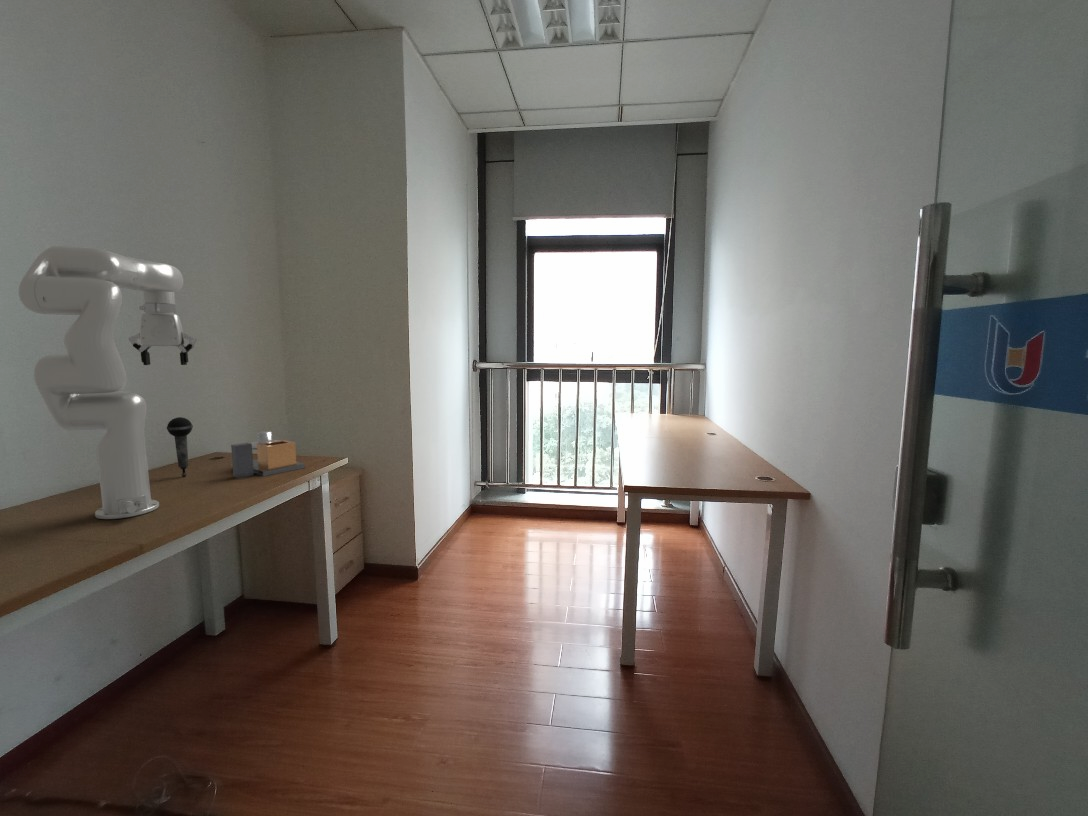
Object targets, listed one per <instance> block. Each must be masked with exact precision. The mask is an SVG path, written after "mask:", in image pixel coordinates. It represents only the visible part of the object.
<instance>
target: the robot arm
mask: <svg viewBox="0 0 1088 816" xmlns="http://www.w3.org/2000/svg"><path fill="white" fill-rule="evenodd" d="M183 286H184V276H183V274H182V273H181V271H180V269H178V268H177V267H175V266H174V265H171V264H168V263H163V262H158V261H151V260H146V259H143V258H142V259H141V258H137V257H133V256H126V255H122V254H120V253H116V252H112V251H109V250H106V249H103V248H97V247H96V248H95V247H80V246H79V247H77V246H63V245H57V246H56V245H54V246H50V247H48V248H46V249H44V250H43V251H42V252H41V253H40V254H39V255H38V256H37V257H36V259H34V261H33V262H32V264H31V265H30V266H29V268H28V270H27V271H26V272H25V274H24V275H23V277H22V278H21V280H20V283H19V286H18V297H19V301H20V302H21V304H22V305H23V306H24V307H25V308H26V309H27V310H29V311H31V312H33V313H36V314H39V315H40V314H41V315H59V316H60V315H61V316H64V315H65V316H78V317H77V319H75V321H74V322H73V323H72V324H71V325H70V326H69V327H68V329H67V330H66V332H65V333H64V335H63V344H64V346H65V349H66V352H67V353H60V354H59V353H55V354H48V355H45V356H43V357H40V358H39V359H38V360H37V361H36V363H35V365H34V369H33V378H34V382H35V386H36V387H37V390H38V392H39V394H40V396H41V397H42V400H43V401H44V403H45V405H46V407H47V409H48V411H49V413H50V415H51V417H52V418H53V421H54V422H55V424H56V425H57V426H59V427H60V429H64V430H66V431H91V430H92V431H93V430H94V431H96V430H99V431H100V430H103V431H105V430H106V433H105V434H104V435H103V437H102V438H100V440H99V442H98V443H97V445H96V450H95V451H96V459H97V469H98V476H99V477H98V478H99V486H100V495H101V496H100V497H101V503H102V507H101V508H99V509H97V510H96V511H95V512H94V516H95V518H96V519H100V520H117V519H124V518H131V517H132V518H133V517H136V516H140V515H144V514H147V513H150V512H152V511H155V510H156V509H158V508H159V506H160V502H159V501H158V500H156V499H152V497H151V488H150V484H151V483H150V476H149V466H148V454H147V447H146V421H147V419H146V418H147V412H148V407H147V403H146V400H145V398H144V397H143V396H141V395H140V394H138V393H135V392H130V391H124V390H123V389H124V388H125V387H126V386H127V383H128V378H127V372H126V369H125V367H124V363H123V361H122V358H121V356H120V353H119V350H118V348H117V345H116V342H115V337H114V334H115V333H114V331H115V327H116V324H117V321H118V318H119V315H120V312H121V308H122V305H123V294H122V290H121V289H127V290H128V289H129V290H132V291H140V292H143V301H144V302H143V305H139V307H138V309H139V311H143V312H144V313H142V314H141V317H140V326H139V327H140V329H139V330H140V332H139V333H137V334H134V335H132V336H130V337H128V341H129V343H131V345H132V347H133V348H135V350H137V351H138V352H139V353H140V359H141V361H140V362H141V363H142V364H143V366H150V365H151V356H150V355H151V353H150V352H149V350H150V348H151V347H176V348H177V349H178V350H180V352H179V359H180V365H182V366H187V365H188V363H189V354H188V353H189V352H190V351H191V350H192V349H194V347H195V345H196V342H197V340H198V339H197V338H196V337H193V336H190V335H188V334H185V332H184V330H183V326H182V322H181V318H180V316H179V315H178V314H177V309H176V308H177V307H176V298H175V296H176V295H175V293H178V292H179V291H181V290H182V288H183ZM138 340H140V343H141V344H142V345H141V344H140V343H138ZM185 340H188V341H189V342H188V344H187V345H185ZM122 390H123V391H122Z"/></svg>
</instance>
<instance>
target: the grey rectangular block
mask: <svg viewBox="0 0 1088 816" xmlns="http://www.w3.org/2000/svg"><path fill="white" fill-rule="evenodd" d="M230 447H231V448H230V449H231V462H232V475H233V478H234V479H243V478H248V477H254V476H255V473H254V469H253V460H254V458H253V449H252V444H251V442H244V443H243V442H242V443H236V444H235V443H234V444H231V445H230Z"/></svg>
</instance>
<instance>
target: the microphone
mask: <svg viewBox="0 0 1088 816" xmlns="http://www.w3.org/2000/svg"><path fill="white" fill-rule="evenodd" d="M193 427H194V425H193V424H192V422H191V421H190V420H189V419H188V418H186V417H180V416H178V417H175V418H173V419H171V420H170V421H169V422H168V423H167V426H166V430H167V432H168V433H169V434H170V435H171V436H173V438H174V443H175V450H176V457H177V464H178V465H177V466H178V468H180V470H181V471H182V474H181V476H182V477H183V478H184V477H187V473H186V469H187V468H188V467H189V456H188V454H189V453H188V452H189V451H188V435H189V434H190V433H191V432H192V430H193Z"/></svg>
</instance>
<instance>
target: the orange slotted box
mask: <svg viewBox="0 0 1088 816" xmlns="http://www.w3.org/2000/svg"><path fill="white" fill-rule="evenodd" d="M250 443H251V444H252V450H257V451H256V452H257V453H256V454H257V459H253V469H254V474H256V475H259V476H262V477H265V476H271V475H276V474H281V473H286V472H290V471H295V470H302V469H304V468H305V467H306V465H305V463H303V462H299V461H297V451H296V448H297V447H296V442H294V441H290V440H287V439H283V440H282V439H281V440H280V439H273V431H271V430H262V431H258V432H256V441H252V442H250Z"/></svg>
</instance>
